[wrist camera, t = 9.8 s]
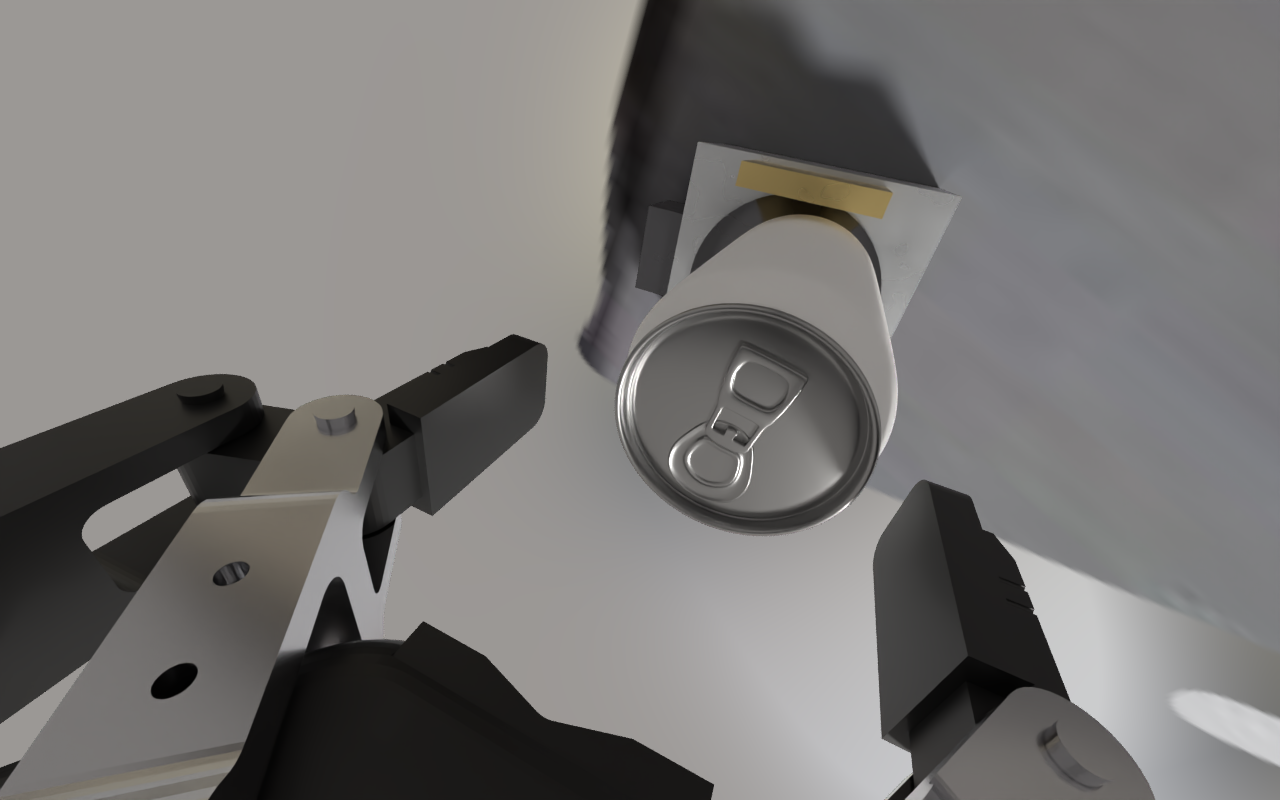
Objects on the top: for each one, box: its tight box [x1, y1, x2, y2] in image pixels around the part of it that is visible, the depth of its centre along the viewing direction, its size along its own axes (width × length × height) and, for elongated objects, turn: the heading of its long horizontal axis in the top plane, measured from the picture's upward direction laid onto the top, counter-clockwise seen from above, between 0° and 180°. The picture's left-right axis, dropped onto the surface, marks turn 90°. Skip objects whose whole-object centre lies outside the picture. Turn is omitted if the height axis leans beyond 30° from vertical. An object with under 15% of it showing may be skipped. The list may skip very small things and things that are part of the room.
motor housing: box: [635, 142, 962, 339], centre depth 21 cm, size 10×12×8 cm
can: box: [615, 214, 898, 536], centre depth 15 cm, size 6×6×12 cm
